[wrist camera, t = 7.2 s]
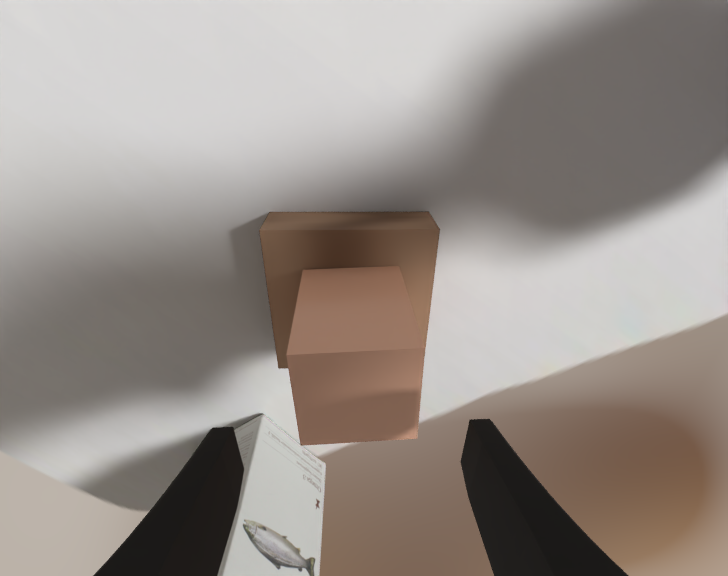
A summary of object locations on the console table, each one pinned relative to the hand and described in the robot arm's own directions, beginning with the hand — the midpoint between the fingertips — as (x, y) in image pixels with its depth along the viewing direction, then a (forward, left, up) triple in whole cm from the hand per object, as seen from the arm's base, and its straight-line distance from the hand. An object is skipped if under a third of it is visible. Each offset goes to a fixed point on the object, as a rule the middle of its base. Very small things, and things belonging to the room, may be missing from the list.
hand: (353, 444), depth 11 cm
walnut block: (0, 0, -11) cm, 11 cm away
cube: (0, 0, -8) cm, 8 cm away
